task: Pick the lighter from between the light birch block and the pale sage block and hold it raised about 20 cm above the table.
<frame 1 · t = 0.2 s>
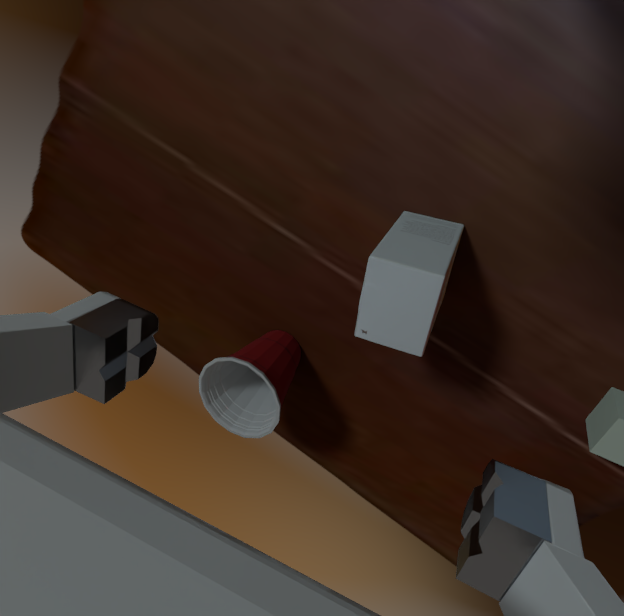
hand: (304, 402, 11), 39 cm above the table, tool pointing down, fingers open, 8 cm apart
small box: (425, 251, 49), on the table
sage block: (622, 413, 49), on the table
plastic cup: (282, 345, 63), on the table
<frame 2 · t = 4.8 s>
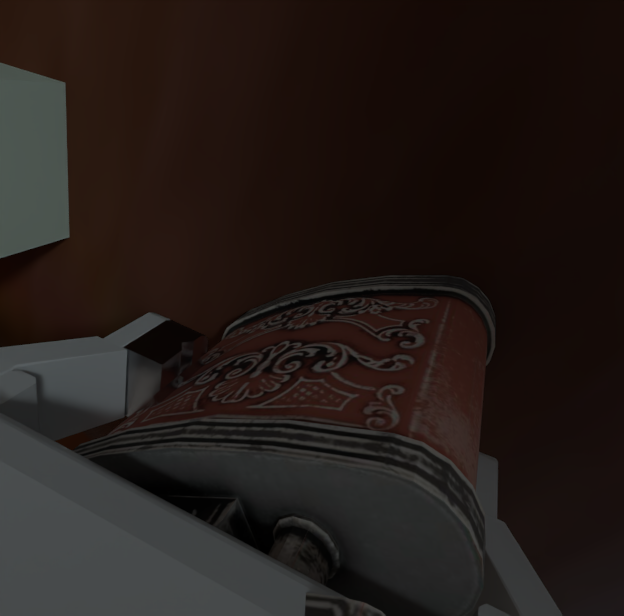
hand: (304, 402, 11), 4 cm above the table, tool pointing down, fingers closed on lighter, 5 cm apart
lighter: (351, 332, 14), on the table, touching gripper
sage block: (11, 144, 16), on the table
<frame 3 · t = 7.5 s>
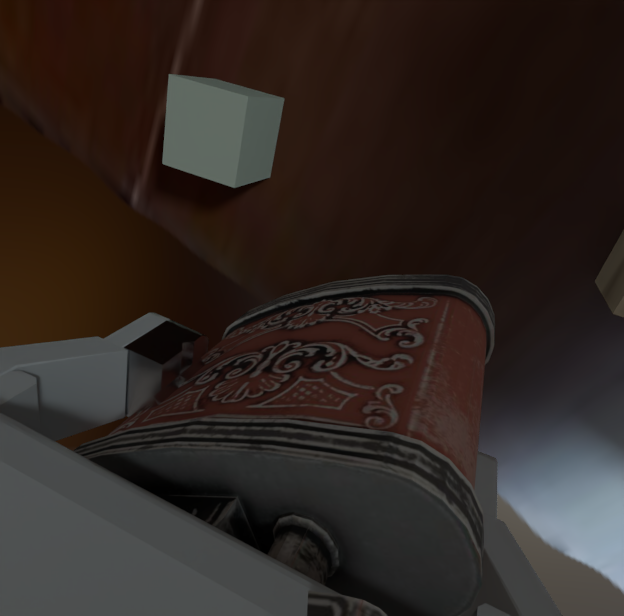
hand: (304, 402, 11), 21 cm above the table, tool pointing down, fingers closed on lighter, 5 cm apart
lighter: (351, 332, 14), point 17 cm above the table, touching gripper
sage block: (243, 129, 31), on the table
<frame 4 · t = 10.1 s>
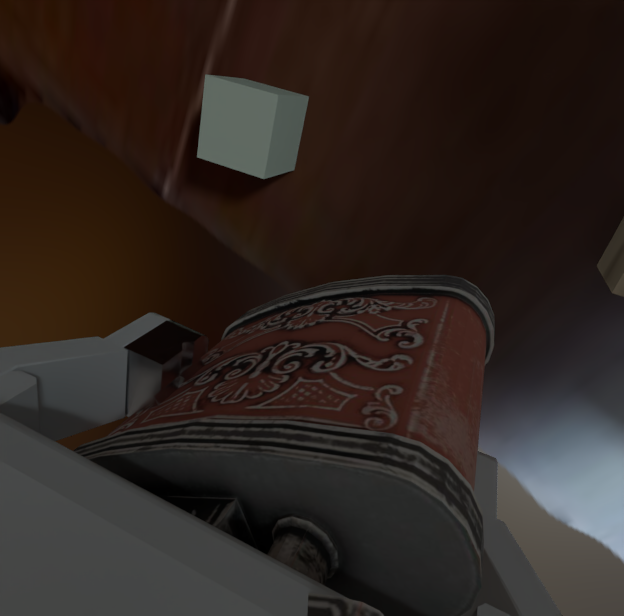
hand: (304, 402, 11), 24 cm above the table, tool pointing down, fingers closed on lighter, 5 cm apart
lighter: (351, 332, 14), point 20 cm above the table, touching gripper
sage block: (270, 125, 33), on the table
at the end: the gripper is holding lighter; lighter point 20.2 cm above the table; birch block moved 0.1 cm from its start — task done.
